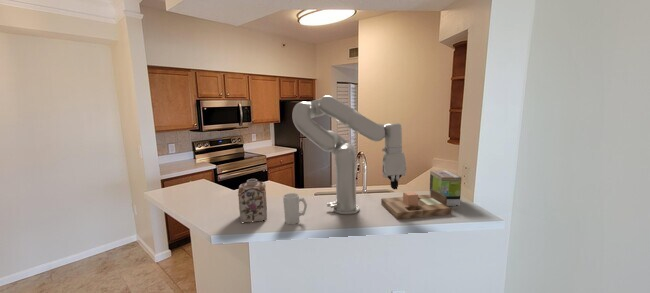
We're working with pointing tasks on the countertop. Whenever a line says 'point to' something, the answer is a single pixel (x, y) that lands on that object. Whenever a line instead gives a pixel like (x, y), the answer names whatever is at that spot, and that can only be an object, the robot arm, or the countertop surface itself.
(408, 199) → the block
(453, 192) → the tea box
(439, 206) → the board
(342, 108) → the robot arm
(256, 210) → the decorative jar
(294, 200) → the mug
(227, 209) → the countertop surface
